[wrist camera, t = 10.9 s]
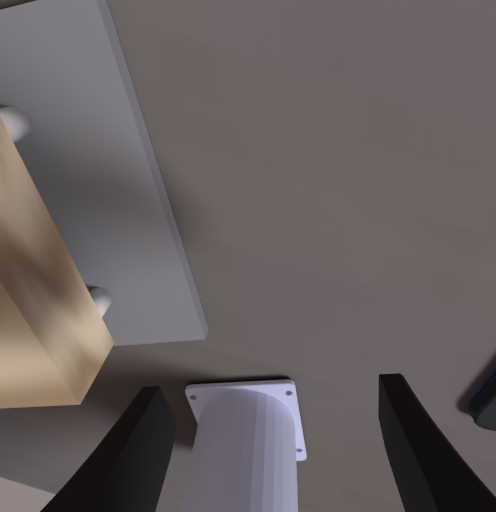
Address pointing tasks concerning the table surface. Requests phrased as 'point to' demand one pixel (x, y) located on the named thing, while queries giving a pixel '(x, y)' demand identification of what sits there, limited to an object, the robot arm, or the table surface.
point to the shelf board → (41, 301)
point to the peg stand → (96, 167)
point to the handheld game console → (485, 407)
